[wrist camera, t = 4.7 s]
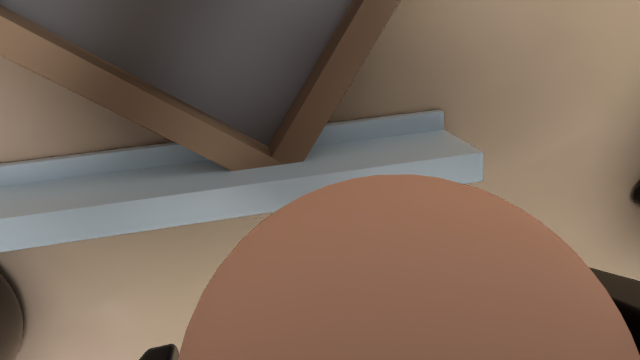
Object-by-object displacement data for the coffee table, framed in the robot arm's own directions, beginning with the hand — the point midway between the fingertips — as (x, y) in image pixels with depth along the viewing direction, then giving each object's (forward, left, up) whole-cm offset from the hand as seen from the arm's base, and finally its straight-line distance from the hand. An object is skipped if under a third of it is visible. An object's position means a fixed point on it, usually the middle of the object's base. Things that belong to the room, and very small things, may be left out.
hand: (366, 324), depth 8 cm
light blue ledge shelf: (+1, +2, -11) cm, 11 cm away
